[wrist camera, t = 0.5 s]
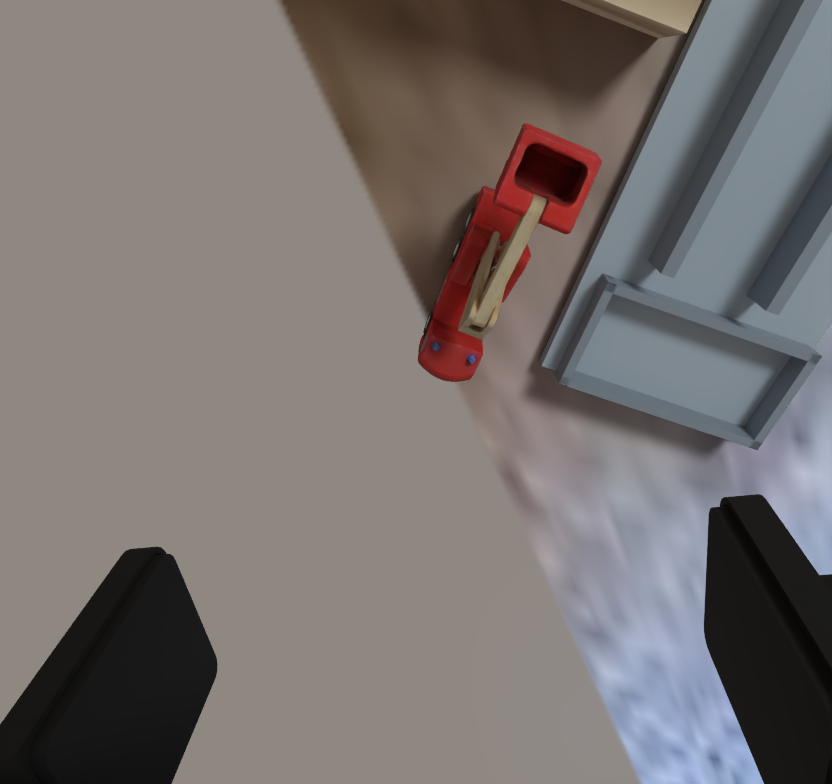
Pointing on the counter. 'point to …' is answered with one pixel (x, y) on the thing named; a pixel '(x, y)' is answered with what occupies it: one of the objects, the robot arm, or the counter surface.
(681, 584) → the counter surface
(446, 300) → the toy fire truck
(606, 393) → the board
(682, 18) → the tan long rectangular block
